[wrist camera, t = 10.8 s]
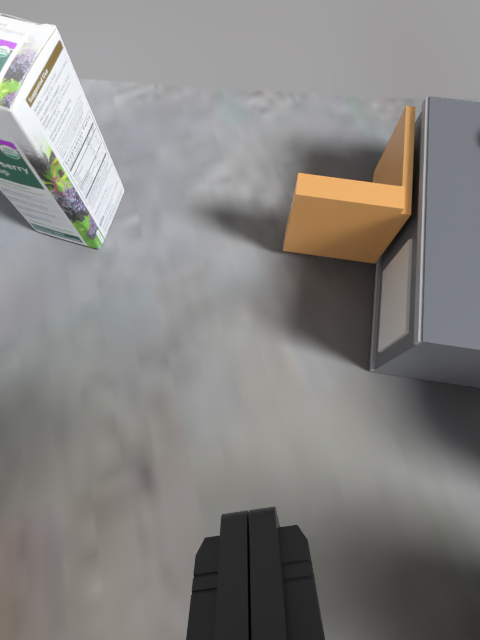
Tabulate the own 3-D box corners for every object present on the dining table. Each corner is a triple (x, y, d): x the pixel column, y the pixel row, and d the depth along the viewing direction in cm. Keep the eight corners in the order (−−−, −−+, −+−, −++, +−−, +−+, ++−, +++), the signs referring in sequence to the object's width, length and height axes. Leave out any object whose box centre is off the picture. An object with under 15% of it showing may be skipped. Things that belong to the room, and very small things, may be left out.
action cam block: (497, 391, 31) (612, 364, 21) (368, 371, 31) (425, 337, 22) (493, 184, 36) (584, 88, 26) (381, 169, 36) (432, 70, 27)
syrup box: (33, 233, 34) (-106, 83, 20) (63, 171, 36) (-47, -6, 22) (101, 251, 34) (6, 111, 20) (128, 188, 35) (57, 18, 22)
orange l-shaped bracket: (375, 263, 32) (414, 210, 25) (282, 250, 33) (295, 194, 26) (381, 173, 35) (418, 100, 28) (294, 161, 35) (309, 87, 28)
